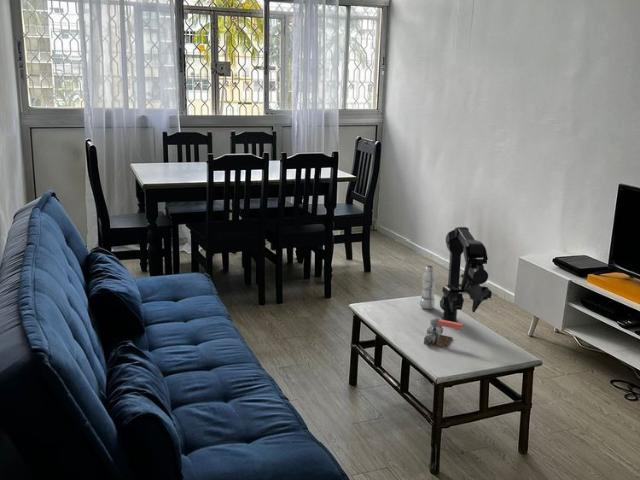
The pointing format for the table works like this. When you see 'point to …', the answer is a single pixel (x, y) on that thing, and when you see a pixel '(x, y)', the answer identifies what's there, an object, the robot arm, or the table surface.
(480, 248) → the robot arm
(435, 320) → the lever
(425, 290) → the plastic bottle
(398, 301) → the table surface
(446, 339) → the valve
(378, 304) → the table surface
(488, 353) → the table surface
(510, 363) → the table surface
